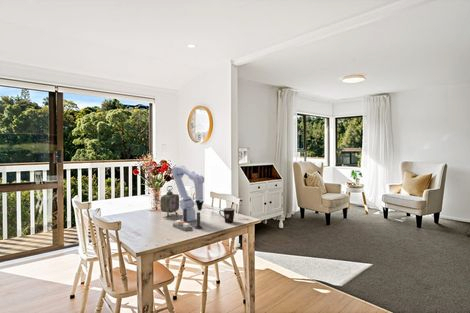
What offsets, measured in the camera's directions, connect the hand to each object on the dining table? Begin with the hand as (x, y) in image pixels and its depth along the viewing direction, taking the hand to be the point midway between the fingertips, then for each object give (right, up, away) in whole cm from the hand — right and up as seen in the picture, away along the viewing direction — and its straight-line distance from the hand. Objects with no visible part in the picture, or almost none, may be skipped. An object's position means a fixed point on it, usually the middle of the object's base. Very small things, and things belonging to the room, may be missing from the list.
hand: (199, 210), depth 211 cm
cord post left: (-11, -10, +2) cm, 16 cm away
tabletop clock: (-28, -10, +25) cm, 39 cm away
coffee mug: (+21, -10, +6) cm, 24 cm away
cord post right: (0, -11, -10) cm, 15 cm away
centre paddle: (-11, -8, -10) cm, 17 cm away
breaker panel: (-11, -11, -10) cm, 18 cm away
